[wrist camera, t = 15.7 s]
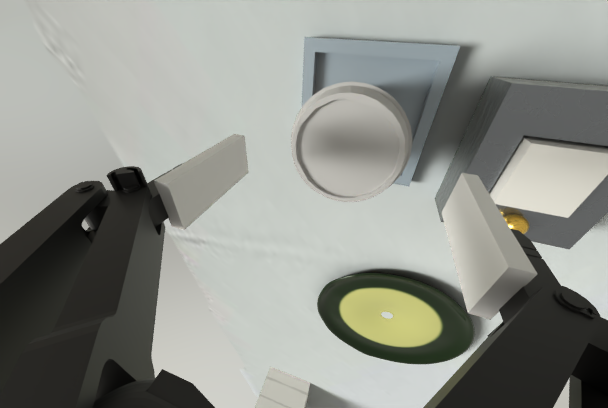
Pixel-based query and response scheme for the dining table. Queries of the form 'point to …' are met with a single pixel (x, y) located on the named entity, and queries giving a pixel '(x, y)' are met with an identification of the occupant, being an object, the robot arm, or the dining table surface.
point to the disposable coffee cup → (351, 141)
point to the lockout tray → (385, 78)
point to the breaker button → (550, 175)
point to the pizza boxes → (283, 391)
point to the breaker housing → (538, 123)
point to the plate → (395, 318)
